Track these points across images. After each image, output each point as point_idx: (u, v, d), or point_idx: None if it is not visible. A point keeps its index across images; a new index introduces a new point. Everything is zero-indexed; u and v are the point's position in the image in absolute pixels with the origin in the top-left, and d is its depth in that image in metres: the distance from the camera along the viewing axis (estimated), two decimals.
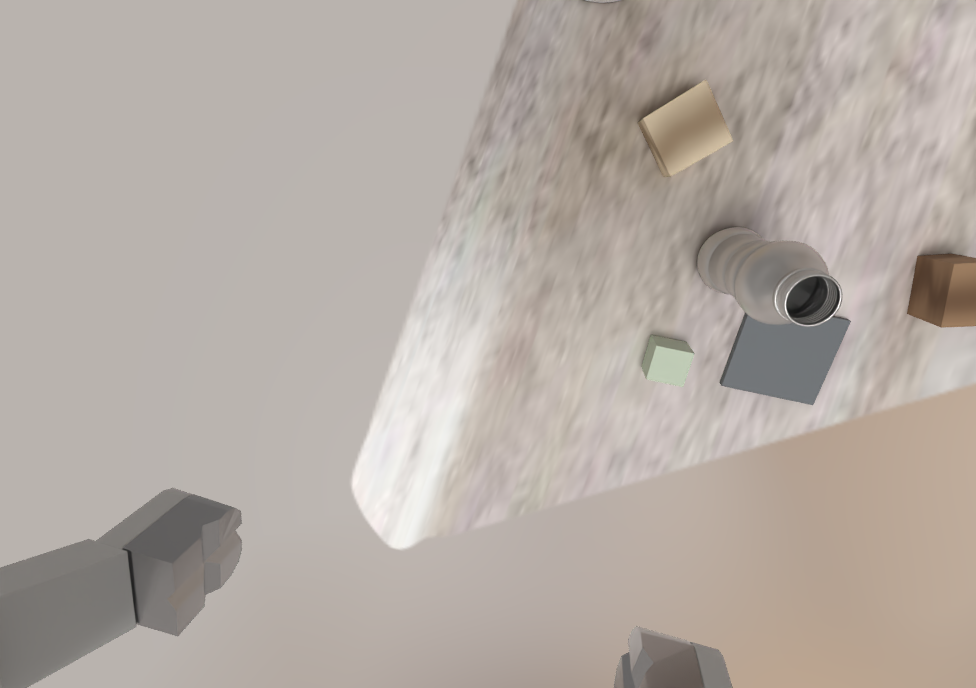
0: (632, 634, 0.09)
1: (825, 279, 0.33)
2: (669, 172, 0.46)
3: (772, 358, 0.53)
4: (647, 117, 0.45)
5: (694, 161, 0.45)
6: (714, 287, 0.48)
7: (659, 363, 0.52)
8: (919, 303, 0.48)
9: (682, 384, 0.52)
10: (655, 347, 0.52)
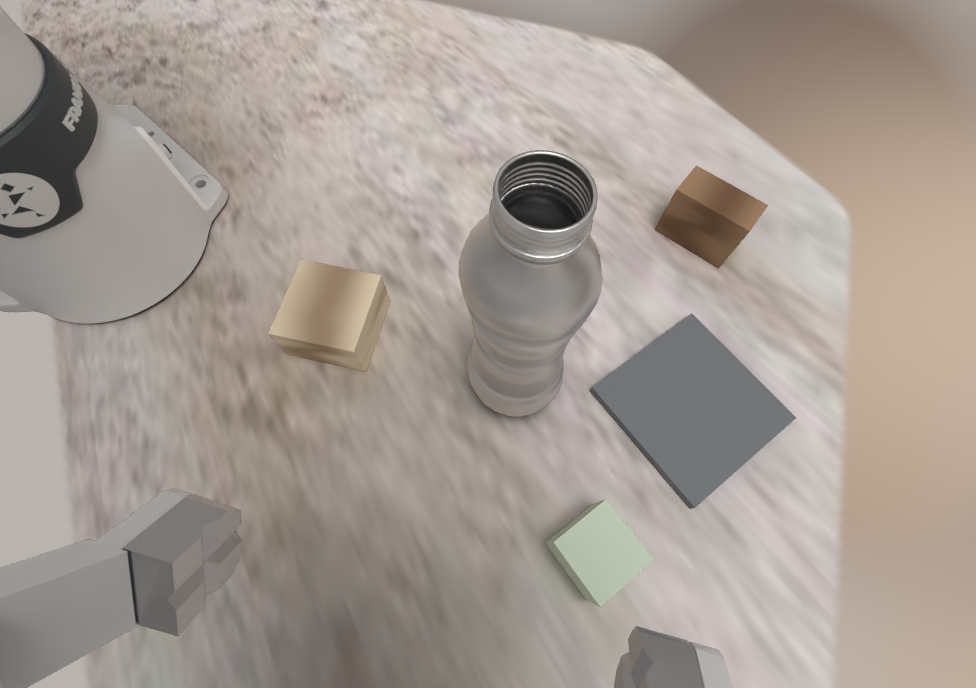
0: (632, 634, 0.09)
1: (537, 180, 0.18)
2: (348, 350, 0.32)
3: (690, 417, 0.33)
4: (272, 329, 0.32)
5: (363, 319, 0.32)
6: (525, 402, 0.30)
7: (587, 562, 0.27)
8: (710, 248, 0.38)
9: (648, 556, 0.27)
10: (556, 546, 0.27)
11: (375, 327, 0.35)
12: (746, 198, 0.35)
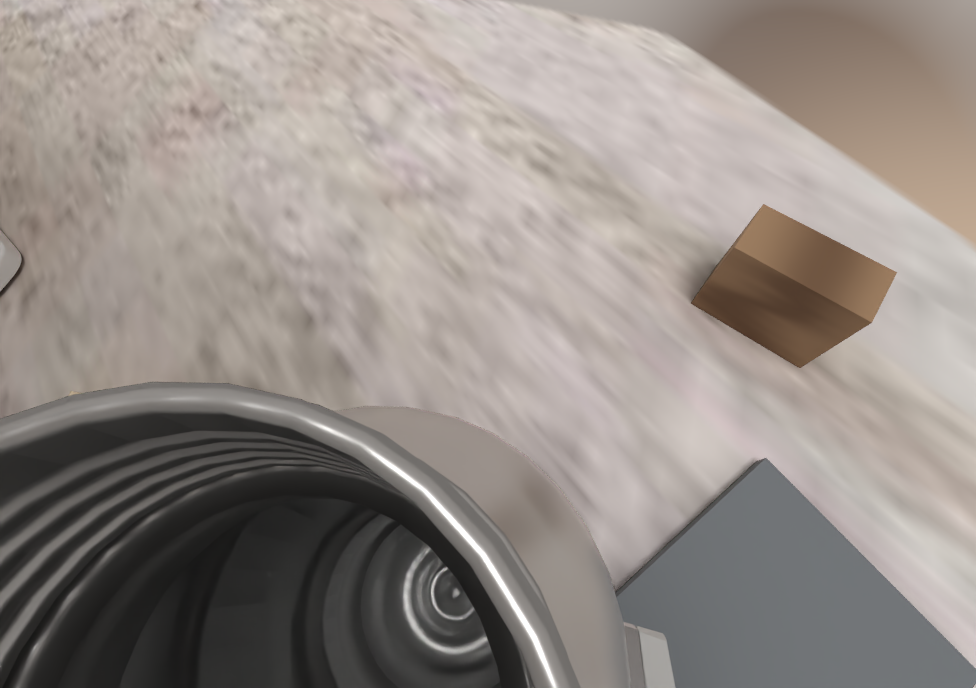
0: None
1: (290, 464, 0.03)
2: None
3: (783, 678, 0.18)
4: None
5: None
6: None
7: None
8: (788, 338, 0.23)
9: None
10: None
11: None
12: (857, 260, 0.20)
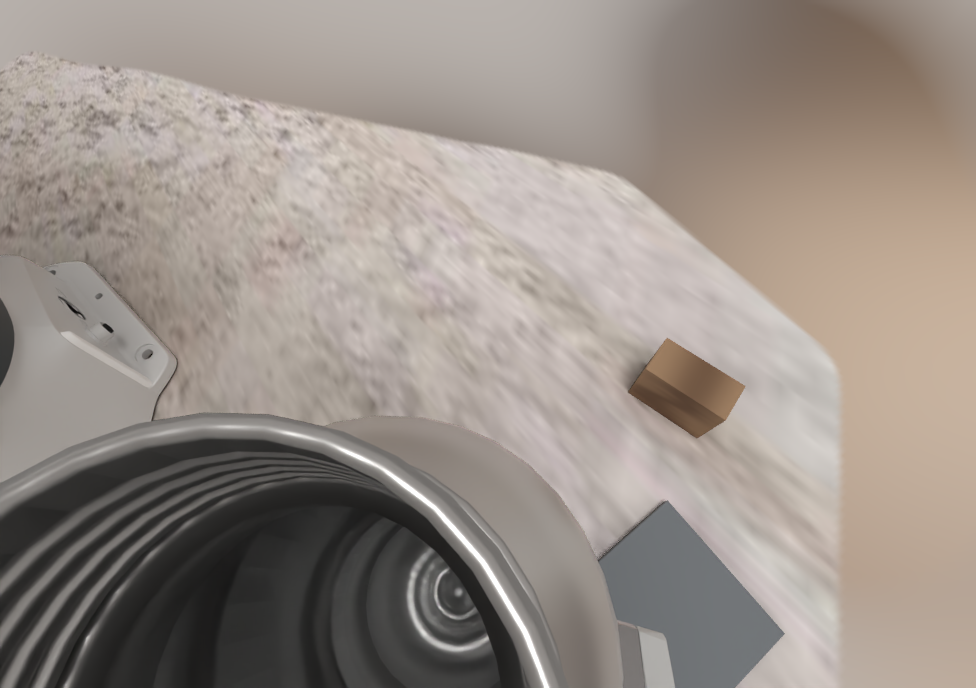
0: None
1: (312, 476, 0.04)
2: None
3: (666, 635, 0.30)
4: None
5: None
6: None
7: None
8: (686, 421, 0.35)
9: None
10: None
11: None
12: (721, 378, 0.33)
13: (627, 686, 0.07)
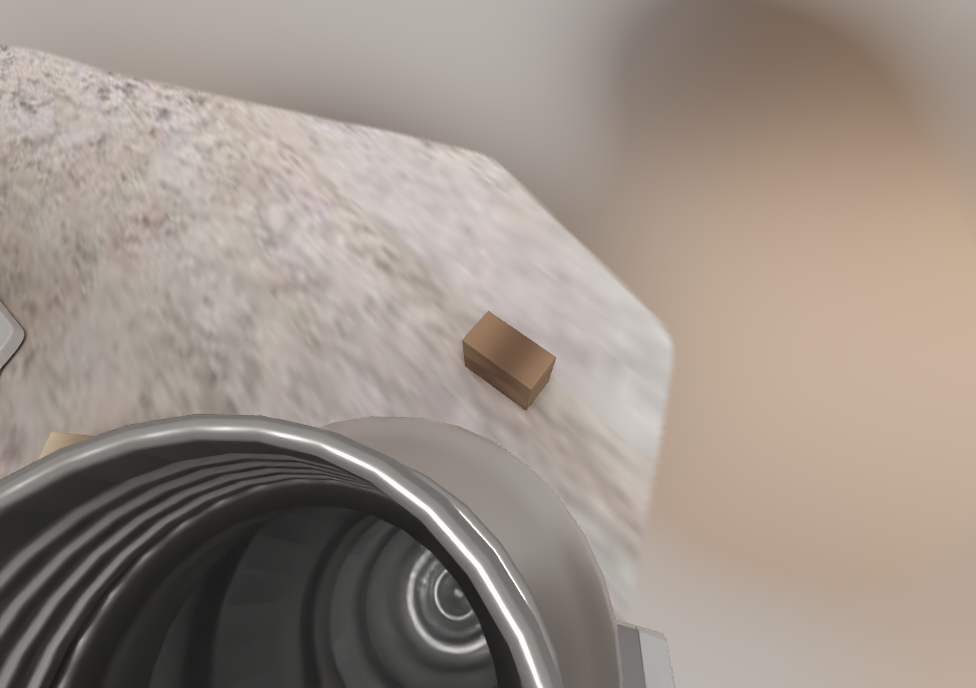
0: None
1: (308, 478, 0.04)
2: None
3: None
4: None
5: None
6: None
7: None
8: (511, 393, 0.36)
9: None
10: None
11: None
12: (534, 349, 0.34)
13: (627, 686, 0.07)
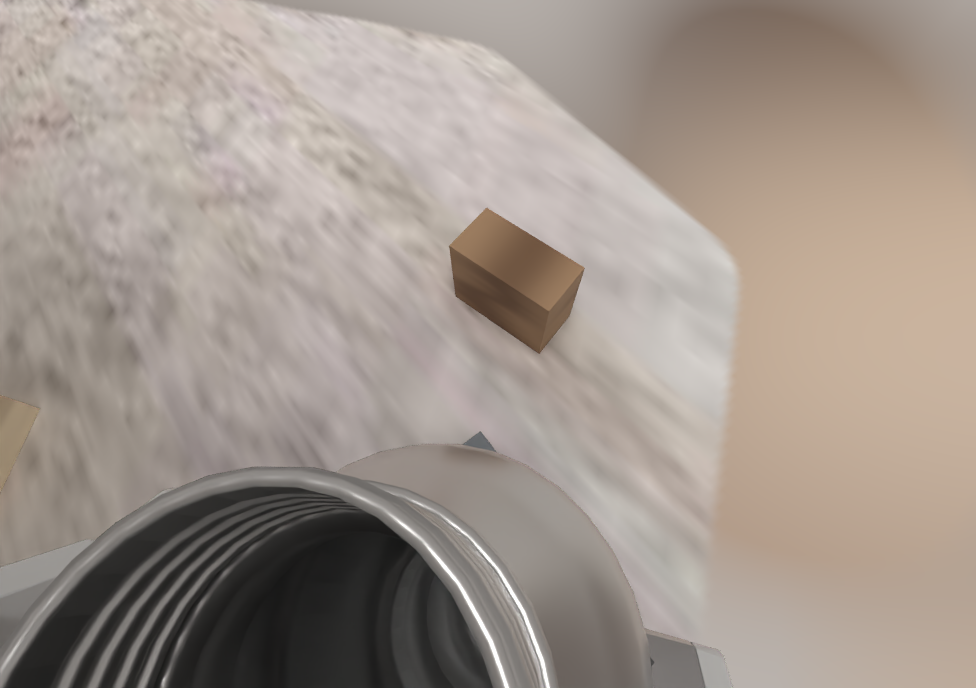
0: None
1: (346, 509, 0.05)
2: None
3: None
4: None
5: None
6: None
7: None
8: (519, 327, 0.26)
9: None
10: None
11: None
12: (553, 257, 0.23)
13: None
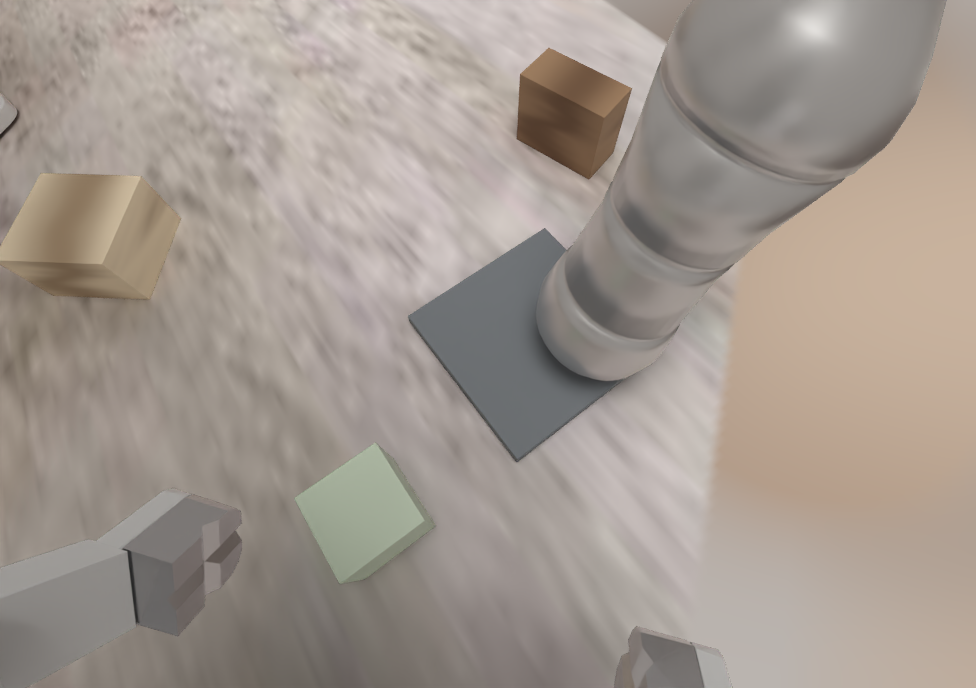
0: (632, 634, 0.09)
1: None
2: (95, 263, 0.25)
3: (526, 349, 0.26)
4: None
5: (116, 227, 0.26)
6: (639, 348, 0.20)
7: (333, 524, 0.20)
8: (574, 152, 0.31)
9: (417, 516, 0.20)
10: None
11: (152, 244, 0.29)
12: (605, 81, 0.29)
13: None
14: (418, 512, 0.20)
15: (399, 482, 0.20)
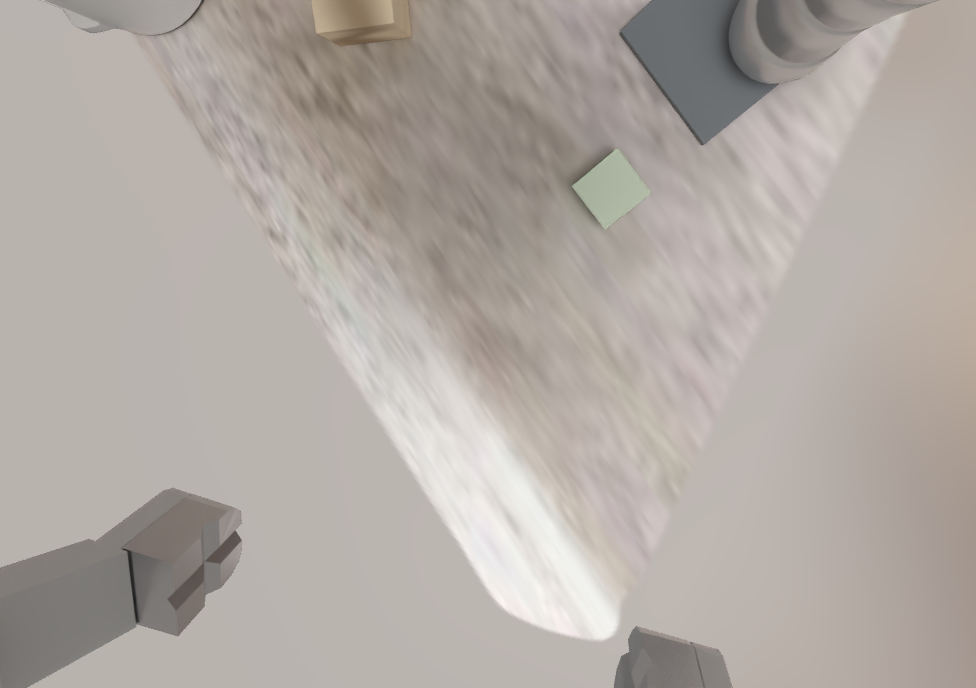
0: (632, 634, 0.09)
1: None
2: (388, 22, 0.34)
3: (719, 51, 0.33)
4: (317, 27, 0.35)
5: None
6: (805, 67, 0.29)
7: (597, 199, 0.35)
8: None
9: (647, 191, 0.34)
10: None
11: None
12: None
13: None
14: (647, 188, 0.34)
15: (634, 171, 0.34)
